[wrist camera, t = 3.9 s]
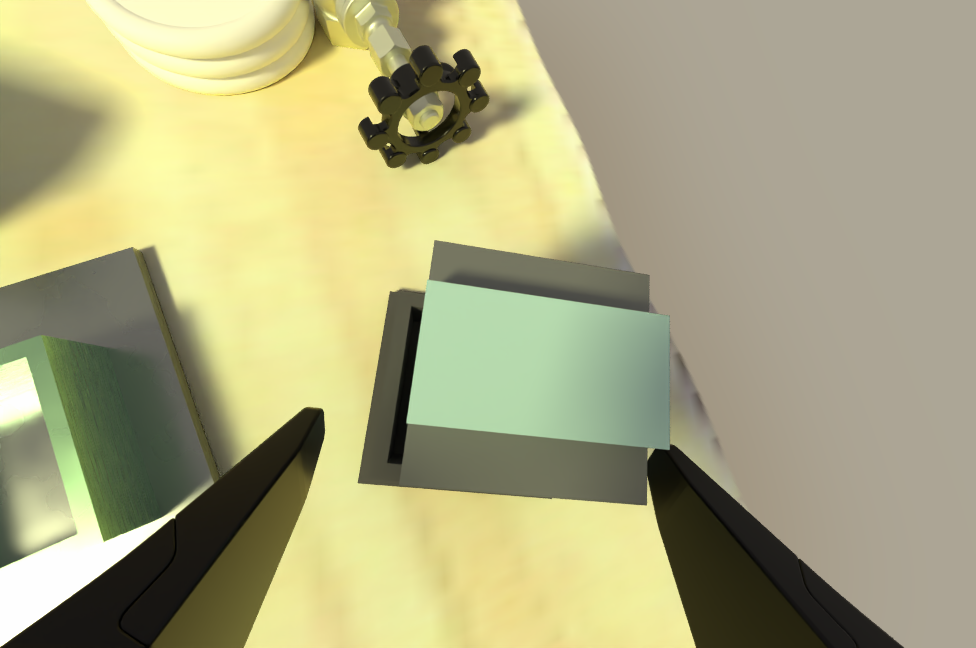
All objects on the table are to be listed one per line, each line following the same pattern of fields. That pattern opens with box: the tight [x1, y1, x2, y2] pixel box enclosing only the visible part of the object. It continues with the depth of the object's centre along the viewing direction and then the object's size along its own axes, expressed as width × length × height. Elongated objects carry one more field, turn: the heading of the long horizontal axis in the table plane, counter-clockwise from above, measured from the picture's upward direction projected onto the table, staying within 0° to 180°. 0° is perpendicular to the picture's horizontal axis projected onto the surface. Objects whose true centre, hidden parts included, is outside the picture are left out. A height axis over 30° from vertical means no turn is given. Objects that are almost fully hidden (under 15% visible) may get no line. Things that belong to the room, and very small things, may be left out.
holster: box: [358, 290, 552, 499], centre depth 18 cm, size 9×9×4 cm
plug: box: [399, 240, 670, 505], centre depth 13 cm, size 5×5×13 cm
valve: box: [312, 0, 489, 168], centre depth 20 cm, size 7×7×12 cm
